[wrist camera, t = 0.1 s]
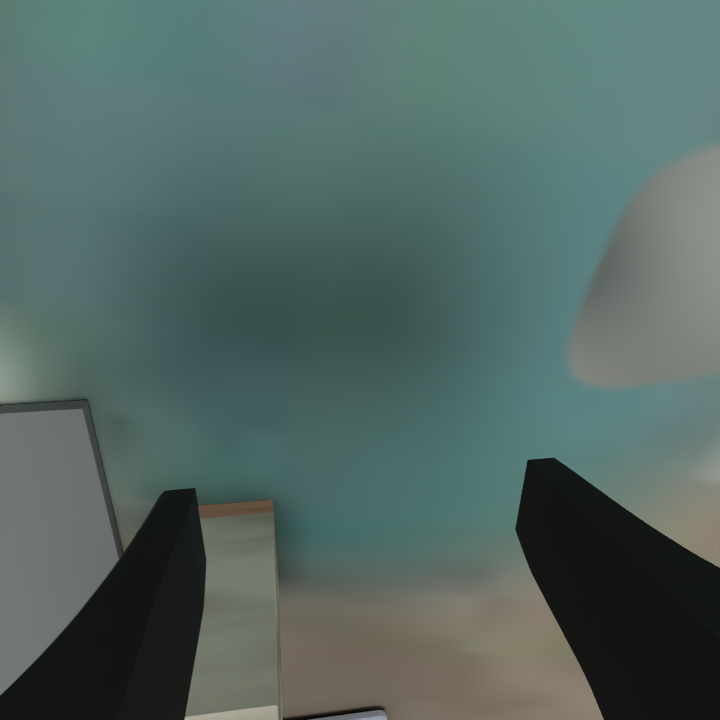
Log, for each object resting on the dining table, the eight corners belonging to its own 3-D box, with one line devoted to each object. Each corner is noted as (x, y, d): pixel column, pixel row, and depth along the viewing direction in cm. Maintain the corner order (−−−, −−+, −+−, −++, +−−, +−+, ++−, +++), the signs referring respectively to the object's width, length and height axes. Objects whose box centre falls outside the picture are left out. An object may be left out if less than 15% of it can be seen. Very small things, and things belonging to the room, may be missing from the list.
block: (278, 582, 27) (284, 796, 20) (167, 593, 27) (128, 820, 19) (272, 499, 25) (277, 704, 17) (151, 509, 24) (98, 728, 17)
